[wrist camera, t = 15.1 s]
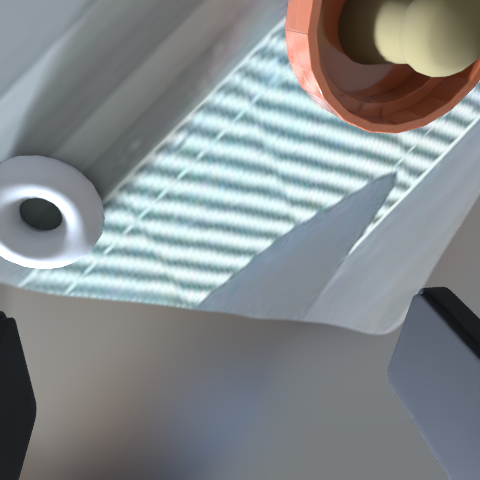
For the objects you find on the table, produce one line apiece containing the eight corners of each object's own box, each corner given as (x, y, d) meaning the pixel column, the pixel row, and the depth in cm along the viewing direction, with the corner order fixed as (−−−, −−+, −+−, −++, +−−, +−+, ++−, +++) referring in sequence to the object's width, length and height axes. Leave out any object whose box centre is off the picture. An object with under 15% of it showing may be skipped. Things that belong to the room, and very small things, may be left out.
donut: (129, 221, 38) (54, 125, 32) (127, 240, 35) (44, 139, 29) (38, 272, 38) (-50, 188, 33) (29, 295, 36) (-69, 206, 30)
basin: (300, -109, 28) (333, -134, 23) (483, -76, 31) (549, -92, 26) (271, 109, 35) (291, 127, 30) (423, 119, 38) (465, 137, 33)
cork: (335, -15, 30) (416, -23, 21) (413, -30, 31) (525, -44, 22) (339, 71, 34) (410, 98, 24) (408, 57, 34) (505, 77, 25)
